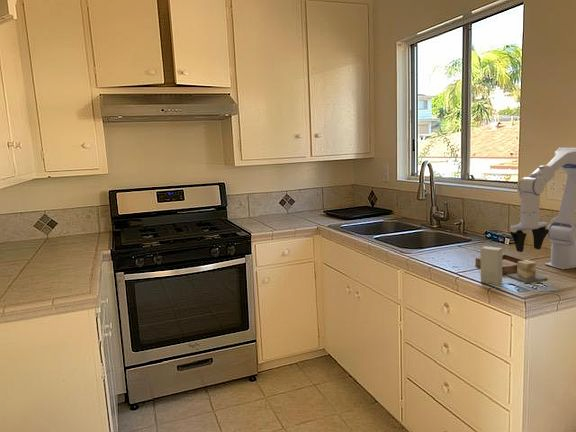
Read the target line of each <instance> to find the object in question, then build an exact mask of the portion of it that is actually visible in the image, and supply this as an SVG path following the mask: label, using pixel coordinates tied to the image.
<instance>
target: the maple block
mask: <svg viewBox="0 0 576 432" xmlns="http://www.w3.org/2000/svg"><path fill="white" fill-rule="evenodd" d="M536 267H537V262H534V261H531V260H528V259H524V261H518V262H517V275H518V276H521V277H524V278H531V277H535V274H537V273H536V271H537V269H536Z"/></svg>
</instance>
